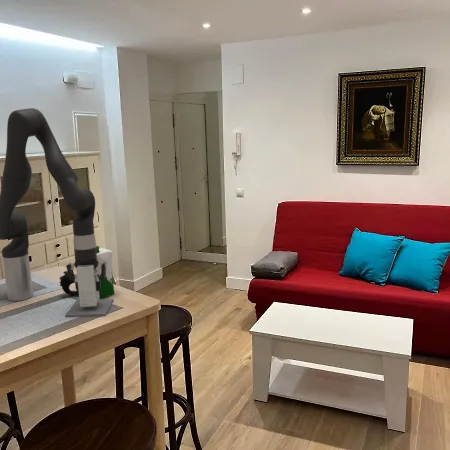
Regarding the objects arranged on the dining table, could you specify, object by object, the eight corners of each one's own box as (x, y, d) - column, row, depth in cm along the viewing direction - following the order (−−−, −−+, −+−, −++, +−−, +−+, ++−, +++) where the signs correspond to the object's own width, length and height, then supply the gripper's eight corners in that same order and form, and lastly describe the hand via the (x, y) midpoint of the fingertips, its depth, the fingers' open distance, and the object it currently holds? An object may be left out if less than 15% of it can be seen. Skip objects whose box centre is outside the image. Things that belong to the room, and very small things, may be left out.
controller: (60, 295, 180) (58, 271, 178) (92, 290, 185) (90, 266, 183) (61, 298, 176) (59, 274, 174) (94, 293, 181) (92, 269, 179)
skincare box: (96, 306, 162) (93, 266, 159) (79, 307, 161) (75, 267, 158) (99, 298, 170) (96, 259, 167) (83, 299, 169) (79, 260, 166)
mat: (76, 301, 173) (76, 300, 173) (113, 300, 173) (113, 299, 173) (65, 317, 159) (65, 315, 159) (105, 316, 160) (105, 313, 159)
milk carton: (86, 295, 180) (81, 246, 175) (105, 289, 186) (102, 241, 182) (98, 300, 174) (94, 250, 169) (118, 294, 180) (114, 245, 176)
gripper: (61, 249, 157) (65, 295, 161) (102, 248, 158) (106, 294, 161) (67, 243, 165) (71, 287, 168) (107, 242, 165) (110, 286, 169)
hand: (88, 290), depth 165 cm, fingers closed on skincare box, 6 cm apart
